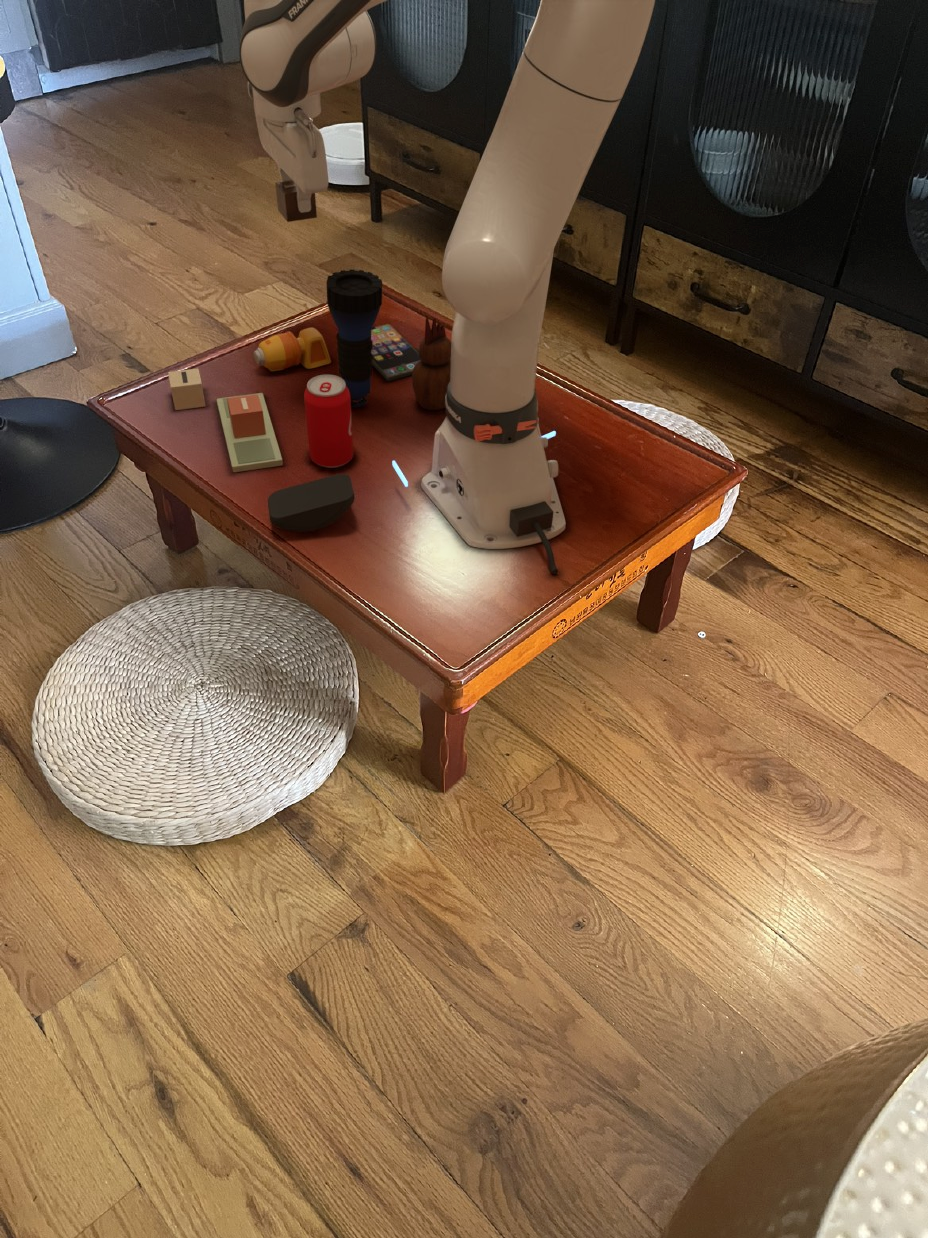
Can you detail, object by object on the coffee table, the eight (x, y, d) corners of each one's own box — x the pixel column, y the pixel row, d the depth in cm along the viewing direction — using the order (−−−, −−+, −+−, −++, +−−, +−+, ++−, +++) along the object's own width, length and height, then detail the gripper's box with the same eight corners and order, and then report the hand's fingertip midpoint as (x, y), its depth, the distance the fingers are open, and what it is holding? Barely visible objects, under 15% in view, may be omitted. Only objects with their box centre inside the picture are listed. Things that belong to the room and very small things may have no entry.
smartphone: (387, 381, 149) (387, 374, 148) (347, 339, 158) (346, 332, 157) (431, 369, 152) (431, 363, 151) (389, 329, 161) (389, 322, 160)
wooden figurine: (421, 418, 142) (422, 327, 131) (407, 399, 146) (406, 308, 135) (461, 409, 144) (465, 319, 133) (447, 391, 148) (449, 301, 137)
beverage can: (357, 447, 136) (353, 374, 127) (349, 472, 131) (345, 398, 123) (314, 443, 136) (308, 370, 128) (305, 468, 132) (298, 394, 123)
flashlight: (395, 409, 143) (393, 284, 129) (353, 426, 140) (346, 300, 125) (365, 386, 148) (360, 263, 133) (323, 403, 144) (313, 278, 130)
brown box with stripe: (317, 217, 136) (314, 188, 133) (287, 222, 135) (284, 192, 132) (307, 206, 139) (304, 177, 136) (278, 210, 138) (275, 181, 135)
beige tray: (283, 465, 132) (279, 434, 129) (233, 472, 130) (227, 441, 127) (263, 398, 144) (259, 368, 140) (217, 404, 142) (212, 374, 139)
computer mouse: (268, 521, 118) (278, 545, 121) (354, 497, 119) (362, 522, 121) (265, 493, 123) (275, 517, 126) (348, 471, 123) (356, 495, 126)
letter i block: (205, 406, 142) (201, 382, 139) (175, 410, 141) (170, 386, 138) (202, 391, 145) (198, 367, 142) (172, 394, 144) (167, 370, 141)
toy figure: (264, 381, 148) (333, 363, 152) (259, 350, 144) (330, 331, 148) (251, 365, 151) (319, 348, 155) (246, 334, 147) (316, 317, 151)
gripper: (336, 119, 121) (342, 226, 130) (286, 74, 133) (295, 175, 143) (289, 124, 119) (299, 233, 128) (243, 79, 131) (255, 181, 141)
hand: (297, 202), depth 136 cm, fingers closed on brown box with stripe, 4 cm apart
